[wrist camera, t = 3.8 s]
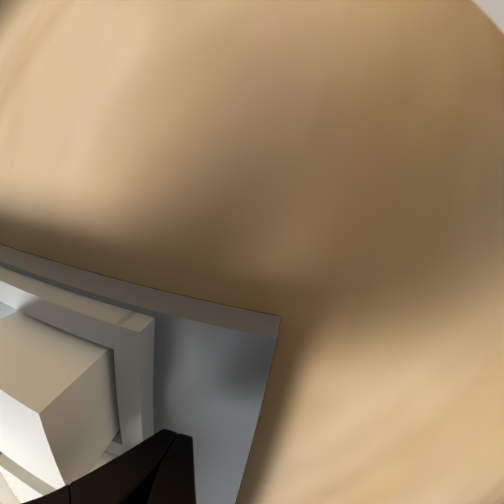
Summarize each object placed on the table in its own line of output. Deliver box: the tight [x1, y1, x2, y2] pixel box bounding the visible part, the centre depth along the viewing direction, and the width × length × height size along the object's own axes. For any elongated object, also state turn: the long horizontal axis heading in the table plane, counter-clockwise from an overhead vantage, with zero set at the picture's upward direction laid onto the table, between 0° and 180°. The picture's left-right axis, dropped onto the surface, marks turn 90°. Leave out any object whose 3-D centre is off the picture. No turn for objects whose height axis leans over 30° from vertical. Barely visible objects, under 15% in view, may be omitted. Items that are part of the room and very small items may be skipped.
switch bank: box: [0, 244, 280, 504], centre depth 11 cm, size 20×16×2 cm
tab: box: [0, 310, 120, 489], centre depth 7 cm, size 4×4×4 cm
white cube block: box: [0, 450, 118, 503], centre depth 9 cm, size 4×4×4 cm
